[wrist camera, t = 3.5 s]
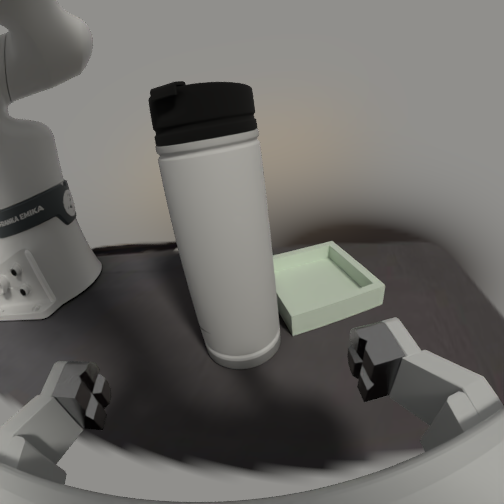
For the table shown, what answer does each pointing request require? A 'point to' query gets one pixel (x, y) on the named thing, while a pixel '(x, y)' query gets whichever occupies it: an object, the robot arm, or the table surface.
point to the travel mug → (219, 215)
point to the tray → (322, 287)
